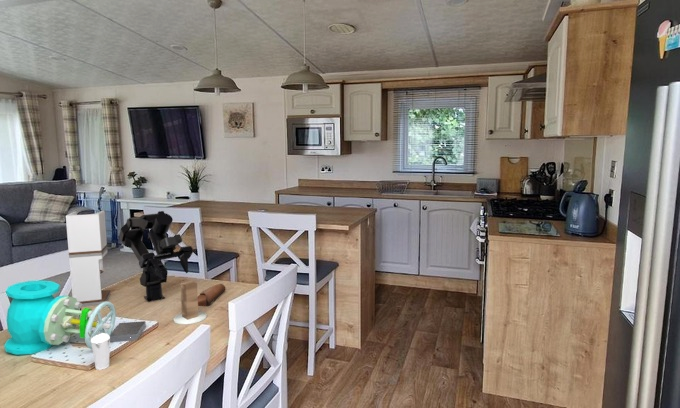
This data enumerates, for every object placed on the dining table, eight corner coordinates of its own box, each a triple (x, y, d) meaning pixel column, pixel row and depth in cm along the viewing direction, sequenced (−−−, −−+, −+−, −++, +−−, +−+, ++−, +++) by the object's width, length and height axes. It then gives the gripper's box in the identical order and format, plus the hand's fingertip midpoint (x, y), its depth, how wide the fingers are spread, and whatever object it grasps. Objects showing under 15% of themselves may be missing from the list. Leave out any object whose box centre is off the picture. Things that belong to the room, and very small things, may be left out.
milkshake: (94, 363, 114) (92, 328, 113) (115, 362, 114) (112, 328, 113) (86, 371, 110) (83, 336, 108) (107, 370, 110) (104, 335, 109)
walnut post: (182, 316, 145) (180, 283, 143) (192, 313, 148) (191, 281, 146) (187, 319, 142) (186, 286, 141) (198, 316, 145) (196, 283, 144)
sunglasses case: (206, 290, 174) (213, 277, 173) (220, 298, 174) (227, 286, 173) (187, 306, 156) (195, 291, 155) (203, 315, 156) (211, 301, 156)
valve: (30, 277, 129) (125, 290, 129) (28, 331, 131) (121, 343, 131) (-9, 292, 115) (97, 306, 115) (-10, 352, 117) (94, 366, 117)
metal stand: (119, 328, 136) (119, 323, 136) (145, 326, 138) (145, 321, 138) (109, 342, 127) (108, 336, 126) (137, 340, 128) (136, 333, 128)
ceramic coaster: (169, 317, 146) (169, 315, 146) (200, 309, 153) (200, 308, 153) (178, 327, 137) (178, 325, 137) (211, 319, 144) (211, 317, 144)
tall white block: (105, 304, 159) (98, 214, 155) (73, 307, 155) (65, 215, 151) (110, 294, 169) (104, 210, 165) (80, 297, 166) (73, 211, 162)
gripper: (140, 231, 145) (155, 268, 139) (190, 224, 158) (206, 257, 152) (132, 250, 151) (147, 285, 145) (181, 242, 165) (196, 274, 158)
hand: (175, 275), depth 150 cm, fingers open, 9 cm apart
